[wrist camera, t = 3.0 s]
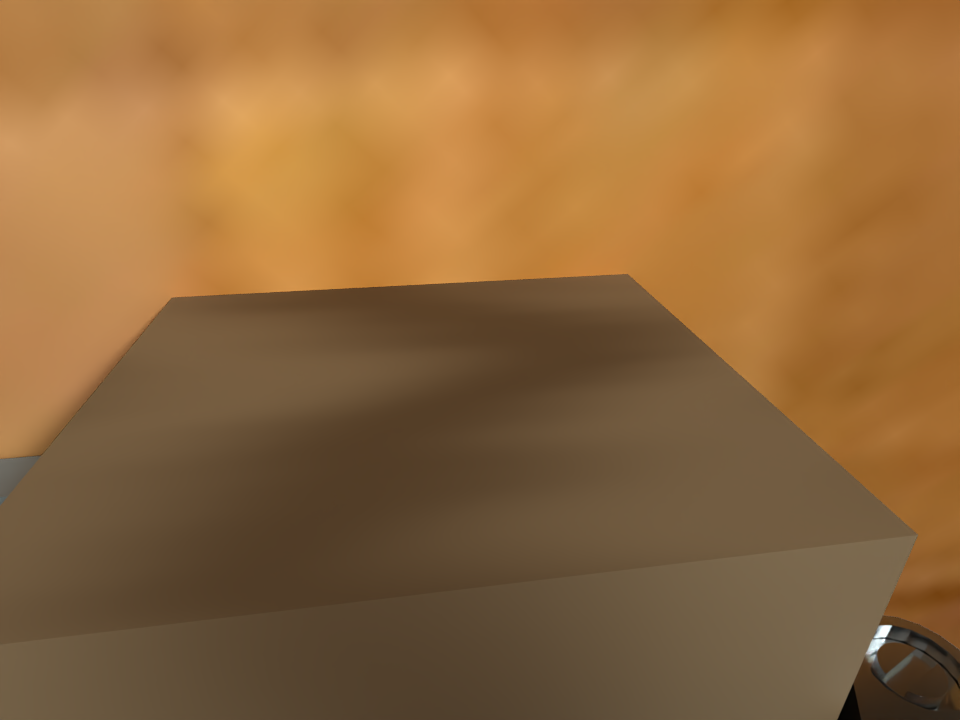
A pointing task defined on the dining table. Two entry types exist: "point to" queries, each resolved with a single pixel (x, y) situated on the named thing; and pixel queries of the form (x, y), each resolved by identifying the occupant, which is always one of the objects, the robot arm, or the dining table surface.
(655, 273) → the dining table surface
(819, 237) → the dining table surface
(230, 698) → the walnut block
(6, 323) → the dining table surface
